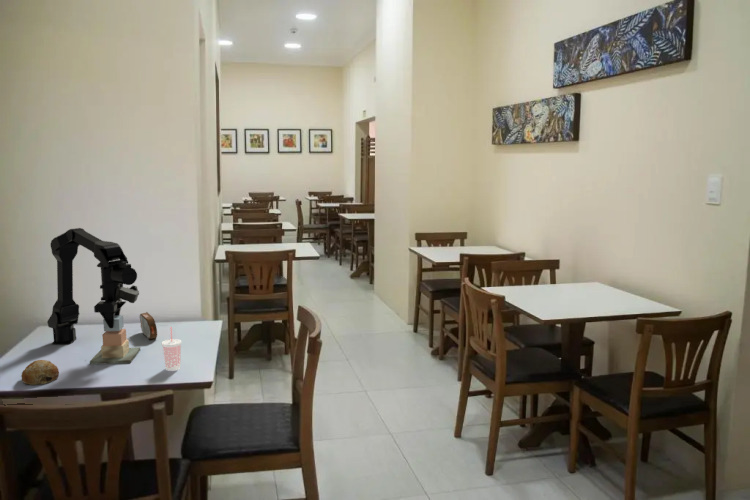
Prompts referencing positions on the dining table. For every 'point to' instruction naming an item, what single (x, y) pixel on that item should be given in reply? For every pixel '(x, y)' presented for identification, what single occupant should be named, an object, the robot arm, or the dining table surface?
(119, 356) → the build board
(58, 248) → the robot arm
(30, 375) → the bread roll
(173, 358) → the beverage cup
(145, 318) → the tin
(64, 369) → the dining table surface
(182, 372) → the dining table surface
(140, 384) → the dining table surface
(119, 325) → the gray brick
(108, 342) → the terracotta brick
